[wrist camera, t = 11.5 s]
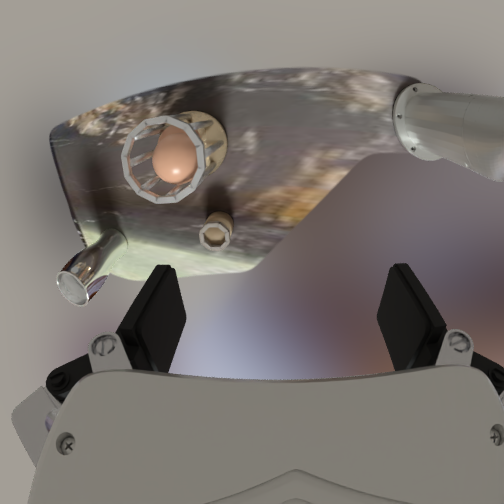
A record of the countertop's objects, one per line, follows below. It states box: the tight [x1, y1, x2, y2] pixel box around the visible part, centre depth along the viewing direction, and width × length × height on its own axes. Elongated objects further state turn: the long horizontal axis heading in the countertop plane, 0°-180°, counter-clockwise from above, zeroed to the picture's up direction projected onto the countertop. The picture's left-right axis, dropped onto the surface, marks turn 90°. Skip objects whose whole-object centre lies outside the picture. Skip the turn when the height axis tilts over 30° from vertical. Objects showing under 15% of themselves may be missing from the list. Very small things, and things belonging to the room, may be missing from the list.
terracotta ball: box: [152, 133, 198, 184], centre depth 29 cm, size 6×6×6 cm
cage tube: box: [121, 111, 228, 204], centre depth 32 cm, size 10×10×13 cm
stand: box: [199, 211, 234, 251], centre depth 41 cm, size 4×4×5 cm
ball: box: [158, 125, 201, 143], centre depth 33 cm, size 6×6×6 cm
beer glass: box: [56, 228, 128, 307], centre depth 40 cm, size 7×7×15 cm
